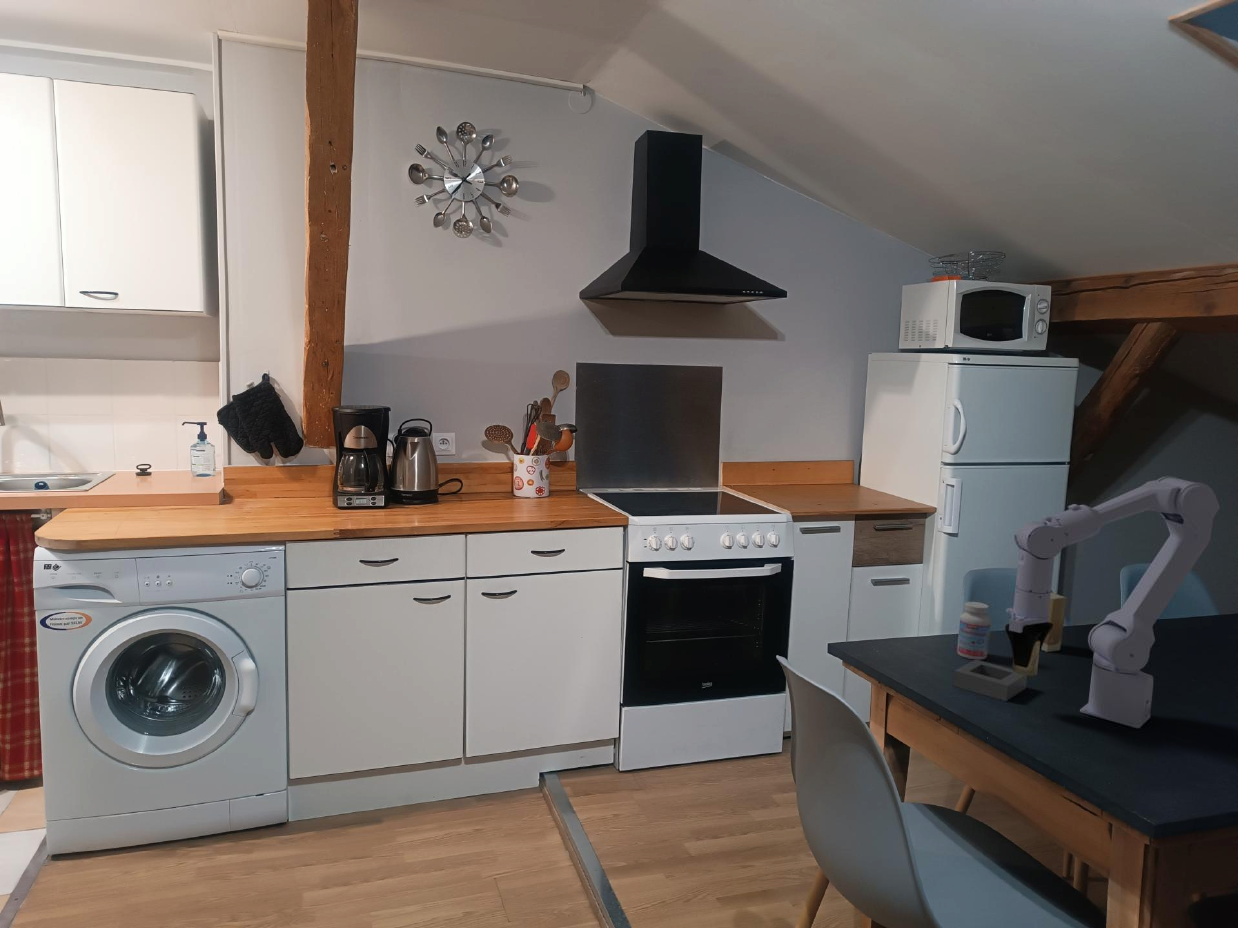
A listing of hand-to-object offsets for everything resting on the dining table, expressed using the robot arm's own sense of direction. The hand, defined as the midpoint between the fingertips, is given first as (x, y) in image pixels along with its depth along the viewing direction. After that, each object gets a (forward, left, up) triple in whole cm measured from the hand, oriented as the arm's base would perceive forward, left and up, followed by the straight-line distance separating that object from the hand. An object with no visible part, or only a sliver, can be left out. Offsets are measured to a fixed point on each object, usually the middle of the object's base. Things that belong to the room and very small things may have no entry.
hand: (1025, 663), depth 156 cm
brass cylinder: (0, 0, -2) cm, 2 cm away
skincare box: (+10, -41, -9) cm, 44 cm away
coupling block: (+8, -6, -8) cm, 13 cm away
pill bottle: (+18, -22, -9) cm, 30 cm away
